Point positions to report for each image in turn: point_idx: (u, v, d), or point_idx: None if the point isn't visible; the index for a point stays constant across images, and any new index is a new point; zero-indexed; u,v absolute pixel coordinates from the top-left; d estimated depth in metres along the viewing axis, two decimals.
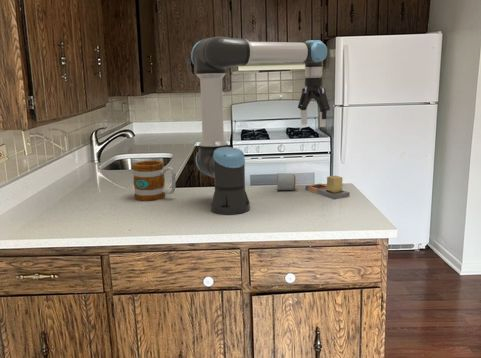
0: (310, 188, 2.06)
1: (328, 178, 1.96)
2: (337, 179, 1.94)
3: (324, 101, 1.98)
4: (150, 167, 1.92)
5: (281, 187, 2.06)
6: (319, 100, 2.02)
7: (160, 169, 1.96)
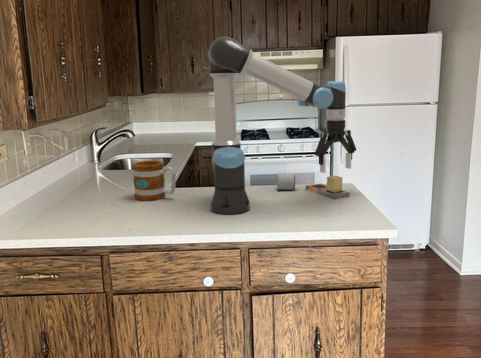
0: (310, 188, 2.06)
1: (328, 178, 1.96)
2: (337, 179, 1.94)
3: (318, 146, 1.90)
4: (150, 167, 1.92)
5: (281, 187, 2.07)
6: (325, 144, 1.91)
7: (160, 169, 1.96)
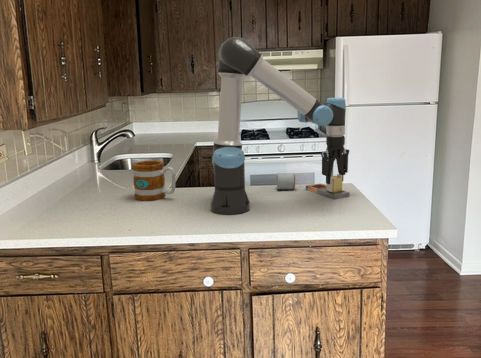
0: (310, 188, 2.06)
1: None
2: (337, 179, 1.94)
3: (322, 166, 1.93)
4: (150, 167, 1.92)
5: (281, 186, 2.07)
6: (328, 162, 1.94)
7: (160, 169, 1.96)
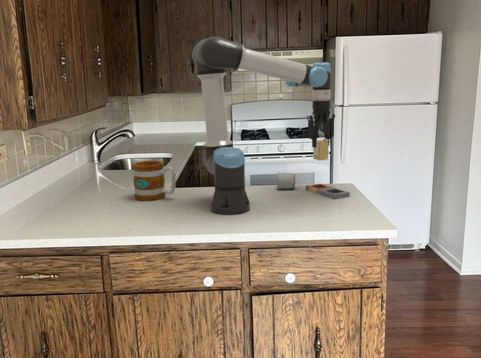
0: (310, 188, 2.06)
1: None
2: (323, 142, 1.99)
3: (308, 129, 1.98)
4: (150, 167, 1.92)
5: (281, 186, 2.08)
6: (314, 126, 1.99)
7: (160, 169, 1.96)
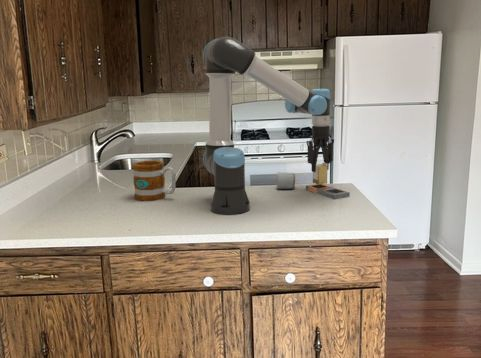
0: (310, 188, 2.06)
1: None
2: (322, 167, 2.02)
3: (308, 154, 2.01)
4: (150, 167, 1.92)
5: (281, 186, 2.08)
6: (314, 151, 2.02)
7: (160, 169, 1.96)
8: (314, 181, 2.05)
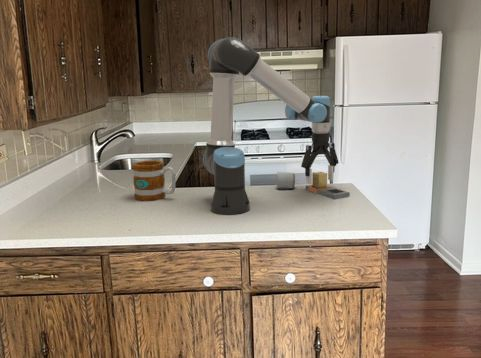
0: (310, 188, 2.06)
1: (313, 174, 2.05)
2: (322, 175, 2.03)
3: (304, 158, 2.00)
4: (150, 167, 1.92)
5: (281, 186, 2.09)
6: (311, 156, 2.01)
7: (160, 169, 1.96)
8: None
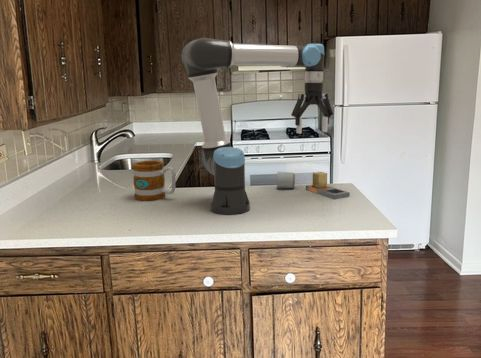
0: (310, 188, 2.06)
1: (314, 174, 2.05)
2: (322, 175, 2.03)
3: (295, 107, 1.94)
4: (150, 167, 1.92)
5: (280, 185, 2.09)
6: (302, 106, 1.96)
7: (160, 169, 1.96)
8: None
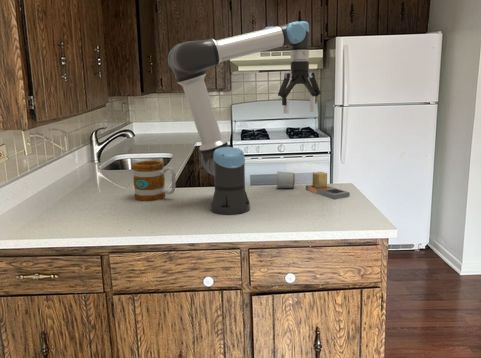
0: (310, 188, 2.06)
1: (313, 174, 2.05)
2: (322, 175, 2.03)
3: (281, 86, 1.92)
4: (150, 167, 1.92)
5: (280, 185, 2.10)
6: (289, 85, 1.93)
7: (160, 169, 1.96)
8: None
